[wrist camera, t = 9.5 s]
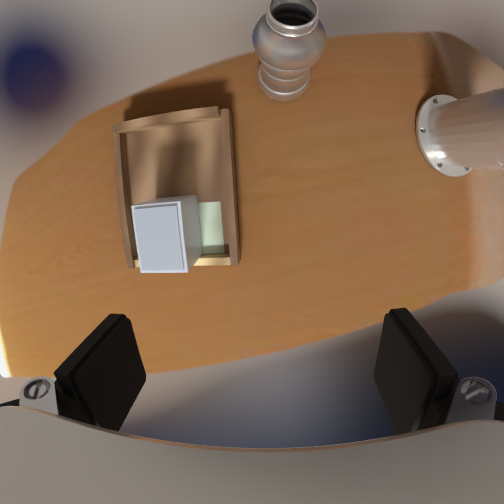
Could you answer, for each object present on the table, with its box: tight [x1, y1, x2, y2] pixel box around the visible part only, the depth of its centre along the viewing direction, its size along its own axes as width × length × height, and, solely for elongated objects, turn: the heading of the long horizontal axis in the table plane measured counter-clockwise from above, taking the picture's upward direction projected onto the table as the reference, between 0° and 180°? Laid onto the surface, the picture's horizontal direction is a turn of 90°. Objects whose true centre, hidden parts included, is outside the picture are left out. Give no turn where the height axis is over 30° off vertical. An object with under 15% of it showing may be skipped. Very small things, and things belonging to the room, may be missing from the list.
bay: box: [112, 106, 241, 268], centre depth 36 cm, size 16×20×5 cm
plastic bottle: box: [252, 0, 327, 101], centre depth 24 cm, size 6×7×20 cm
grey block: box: [131, 195, 203, 273], centre depth 35 cm, size 6×8×8 cm
